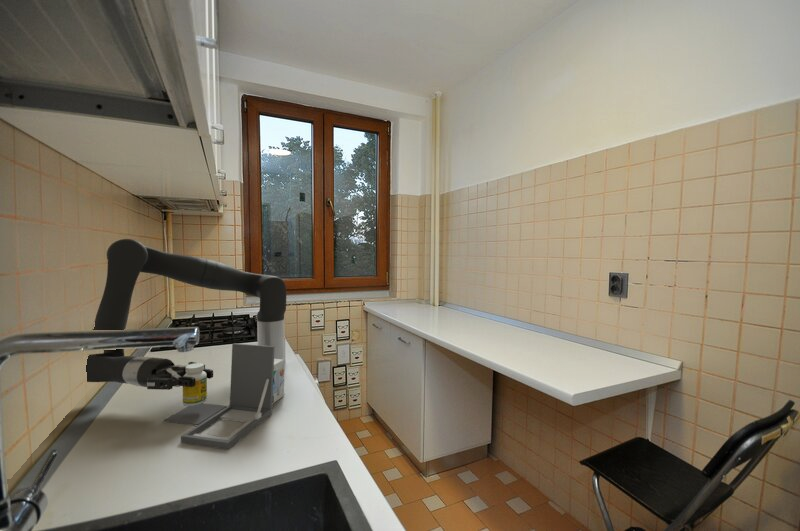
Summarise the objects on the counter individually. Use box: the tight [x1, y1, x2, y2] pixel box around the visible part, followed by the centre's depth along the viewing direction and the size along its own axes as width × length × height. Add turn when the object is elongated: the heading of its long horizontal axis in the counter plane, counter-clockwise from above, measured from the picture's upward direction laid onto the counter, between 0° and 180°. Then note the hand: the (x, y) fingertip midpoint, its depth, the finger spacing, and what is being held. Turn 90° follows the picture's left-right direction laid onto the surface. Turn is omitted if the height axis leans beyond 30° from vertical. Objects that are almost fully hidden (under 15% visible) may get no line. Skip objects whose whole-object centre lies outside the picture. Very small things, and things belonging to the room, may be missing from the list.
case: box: [180, 342, 275, 450], centre depth 83 cm, size 18×12×18 cm
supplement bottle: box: [182, 362, 208, 407], centre depth 88 cm, size 5×5×10 cm
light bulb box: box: [272, 359, 285, 405], centre depth 96 cm, size 11×7×11 cm, turn 169°
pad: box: [163, 402, 228, 426], centre depth 89 cm, size 10×10×1 cm
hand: (203, 378), depth 88 cm, fingers closed on supplement bottle, 5 cm apart
